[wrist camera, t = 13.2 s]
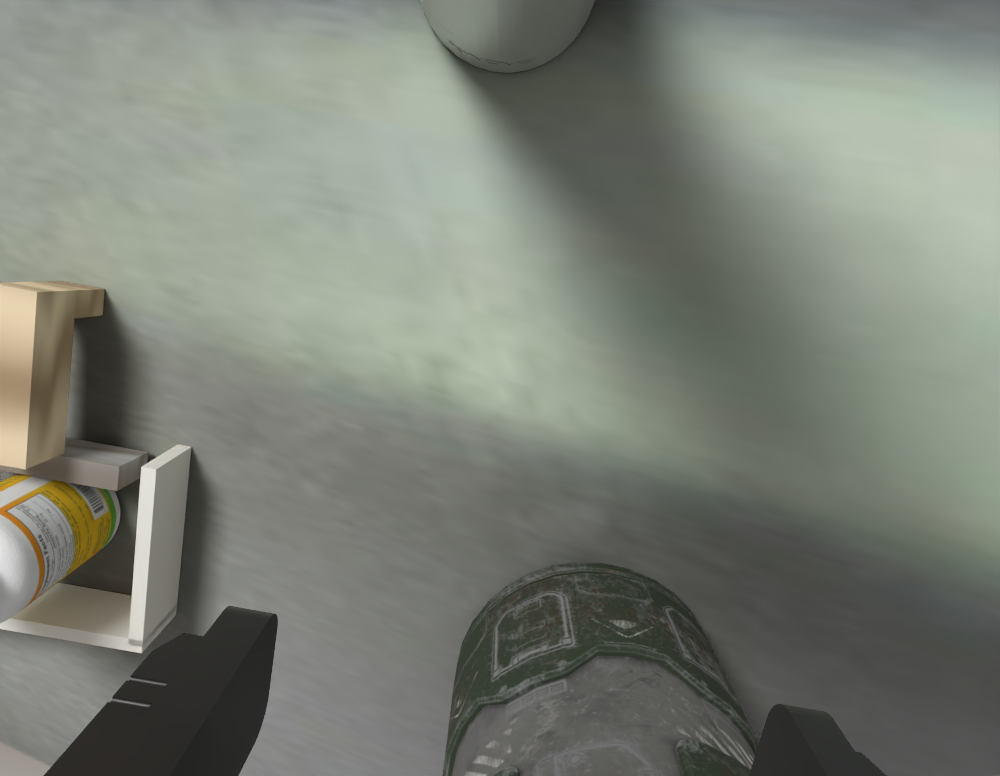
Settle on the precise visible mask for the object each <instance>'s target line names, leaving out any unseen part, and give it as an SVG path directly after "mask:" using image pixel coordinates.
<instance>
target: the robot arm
mask: <svg viewBox="0 0 1000 776" xmlns="http://www.w3.org/2000/svg"><path fill="white" fill-rule="evenodd" d="M594 2H595V0H420V3H421V6H422V8H423V11H424V13H425V15H426V17H427V19H428V22H429V24H430V26H431V28H432V29H433V30H434V32H435V33H436V35H437V36H438V37H439V39H440V40H441V42H442V43H443V44H444V45H445V46H446V47H447V48H449V49H450V50H451V51H452V52H453V53H454V54H455V55H456V56H458V57H459V58H461V59H463V60H464V61H466V62H468V63H470V64H471V65H473V66H476V67H479V68H482V69H485V70H488V71H493V72H505V73H512V72H519V71H526V70H530V69H533V68H535V67H538V66H540V65H543V64H545V63H547V62H549V61H550V60H552V59H553V58H555V57H556V56H558V55H559V54H561V53H562V52H563V51H564V50H565V49H566V48H567V47H568V46H569V45H570V44H571V43H572V42H573V41H574V40H575V39H576V38H577V36H578V34H579V33H580V31H581V30H582V28H583V27H584V25H585V24H586V22H587V20H588V17H589V15H590V12H591V10H592V7H593V5H594ZM277 625H278V619H277V615H276V614H272V613H267V612H261V611H255V610H250V609H244V608H238V607H233V606H228V607H227V608H226V609H225V610H224V611H223V612H222V613H221V615H220V616H219V617H218V619H217V620H216V621H215V622H214V624H213V625H212V626H211V628H210V629H209V630H208V631H207V633H206V634H205V635H204V637H203V636H197V635H192V634H186V633H183V634H181V635H180V636H178V637H176V638H174V639H173V640H171V641H169V642H167V643H166V644H164V645H162V646H161V647H159V648H157V649H155V650H154V651H152V652H151V653H150V654H149V656H148V657H147V658H146V659H145V660H144V661H143V662H142V664H141V665H140V666H139V667H138V668H137V669H136V670H135V672H134V673H133V674H132V675H131V677H130V680H129V681H126V682H125V683H124V684H123V685H122V686H121V688H120V689H119V690H118V691H117V692H116V693H115V695H114V696H113V698H112V700H111V702H108V703H107V704H106V705H105V706H104V707H103V708H102V709H101V711H100V712H99V713H98V714H97V715H96V716H95V717H94V719H93V720H92V721H91V722H90V723H89V724H88V725H87V727H86V728H85V729H84V730H83V731H82V732H81V734H80V735H79V736H78V737H77V738H76V739H75V740H74V742H73V743H72V744H71V745H70V746H69V747H68V748H67V750H66V751H65V752H64V753H63V754H62V755H61V756H60V758H59V759H58V760H57V761H56V762H55V763H54V764H53V766H52V767H51V768H50V769H49V770H48V771H47V773H46V774H45V775H44V776H238V775H239V773H240V771H241V769H242V767H243V765H244V763H245V761H246V759H247V757H248V755H249V753H250V751H251V749H252V748H253V746H254V743H255V741H256V739H257V737H258V734H259V731H260V728H261V725H262V722H263V719H264V715H265V712H266V707H267V702H268V696H269V689H270V681H271V673H272V665H273V657H274V650H275V642H276V634H277ZM749 776H886V775H885V774H884V773H883V772H882V771H881V770H880V769H879V768H877V767H876V766H875V765H874V764H873V763H872V762H871V761H870V760H869V759H867V758H866V757H865V756H864V755H863V754H862V753H860V752H855V751H854V749H853V748H852V746H851V745H850V743H849V742H848V740H847V739H846V737H845V736H844V734H843V733H842V732H841V730H840V729H839V727H838V726H837V724H836V723H835V721H834V720H833V718H832V717H831V716H830V715H829V714H828V713H826V712H822V711H816V710H811V709H805V708H799V707H794V706H788V705H782V704H777V705H775V706H773V708H772V709H771V710H770V712H769V714H768V717H767V720H766V723H765V727H764V730H763V733H762V736H761V739H760V742H759V745H758V749H757V752H756V755H755V758H754V761H753V764H752V767H751V771H750V774H749Z"/></svg>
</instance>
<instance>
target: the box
mask: <svg viewBox="0 0 1000 776" xmlns="http://www.w3.org/2000/svg"><path fill="white" fill-rule="evenodd" d="M190 457H191V447H190V446H184V445H179V444H178V445H176V446H174V447H173V448H171V449H170V450H168V451H166V452H165V453H163V454H161V455H160V456H158V457H156V458H155V459H153V460H152V461H150V462H148V463H147V464H145V465H143V466H142V467H141V478H140V491H139V505H138V518H137V532H136V545H135V559H134V572H133V586H132V595H126V594H120V593H115V592H109V591H103V590H97V589H92V588H86V587H80V586H75V585H69V584H63V583H57V584H55V585H54V586H53V587H51V588H50V589H49V590H47V591H46V592H45V593H43V594H42V595H41V596H40V597H38V598H37V599H36V600H34V601H33V602H32V603H30V604H29V605H28V606H27V607H25V608H24V609H23V610H21V611H20V612H18V613H17V614H16V615H14V616H13V617H11V618H9V619H8V620H6V621H4V622H2V623H0V629H3V630H9V631H15V632H21V633H26V634H32V635H38V636H44V637H50V638H55V639H61V640H67V641H73V642H79V643H84V644H90V645H96V646H102V647H108V648H113V649H119V650H125V651H131V652H137V653H143V651H144V650H145V649H146V648H147V647H148V646H149V645H150V644H151V642H152V641H153V640H154V639H155V638H156V637H157V636H158V635H159V633H160V632H161V631H162V630H163V629H164V628H165V627H166V626H167V625H168V623H169V622H170V621H171V620H172V619H173V618H174V617H175V616H176V611H177V600H178V589H179V578H180V567H181V556H182V545H183V534H184V523H185V512H186V501H187V490H188V479H189V468H190Z"/></svg>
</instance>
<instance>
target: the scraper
mask: <svg viewBox="0 0 1000 776" xmlns="http://www.w3.org/2000/svg"><path fill="white" fill-rule="evenodd" d="M104 293H105V289H101V288H96V287H91V286H85V285H80V284H74V283H69V282H64V281H48V282H0V470H1V471H6V472H12V473H18V474H23V475H29V476H35V477H40V478H46V479H52V480H57V481H63V482H68V483H74V484H80V485H85V486H91V487H97V488H102V489H108V490H114V491H118V490H120V489H122V488H123V487H125V486H127V485H129V484H130V483H132V482H134V481H136V480H138V479H139V478H141V467H142V466H143V465H145V464H147V461H148V452H146V451H140V450H134V449H129V448H123V447H118V446H112V445H106V444H101V443H95V442H90V441H84V440H79V439H73V438H67V437H66V425H67V411H68V398H69V385H70V371H71V358H72V345H73V332H74V318H84V317H93V316H102V315H103V305H104Z"/></svg>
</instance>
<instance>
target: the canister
mask: <svg viewBox="0 0 1000 776" xmlns="http://www.w3.org/2000/svg"><path fill="white" fill-rule="evenodd" d="M757 749H758V745H757V741H756V738H755V736H754V734H753V732H752V730H751V728H750V726H749V724H748V722H747V720H746V718H745V716H744V714H743V712H742V710H741V707H740V705H739V703H738V701H737V699H736V697H735V695H734V693H733V691H732V689H731V687H730V685H729V683H728V681H727V679H726V677H725V675H724V673H723V671H722V669H721V667H720V665H719V663H718V661H717V659H716V657H715V655H714V653H713V651H712V649H711V647H710V645H709V643H708V641H707V639H706V637H705V635H704V633H703V631H702V629H701V628H700V626H699V624H698V623H697V621H696V620H695V618H694V616H693V615H692V613H691V611H690V610H689V609H688V608H687V607H686V606H685V605H684V604H683V603H682V602H681V600H680V599H679V598H678V597H677V596H676V595H675V594H674V593H673V592H671V591H670V590H668V589H667V588H665V587H664V586H662V585H661V584H660V583H658V582H657V581H655V580H653V579H651V578H649V577H646V576H644V575H642V574H639V573H637V572H635V571H632V570H630V569H626V568H622V567H617V566H613V565H608V564H602V563H568V564H561V565H553V566H550V567H547V568H544V569H541V570H538V571H535V572H532V573H529V574H527V575H526V576H524V577H522V578H520V579H519V580H517V581H515V582H513V583H511V584H510V585H508V586H506V587H505V588H504V589H502V590H501V591H500V592H499V593H498V594H497V595H495V596H494V597H493V598H492V599H491V600H489V601H488V603H487V604H486V605H485V607H484V608H483V609H482V610H481V612H480V613H479V614H478V615H477V617H476V618H475V619H474V620H473V622H472V624H471V626H470V628H469V630H468V632H467V634H466V636H465V638H464V640H463V642H462V646H461V650H460V654H459V659H458V663H457V669H456V675H455V682H454V688H453V696H452V704H451V712H450V720H449V728H448V737H447V745H446V753H445V761H444V769H443V776H749V774H750V771H751V767H752V764H753V761H754V758H755V755H756V752H757Z"/></svg>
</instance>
